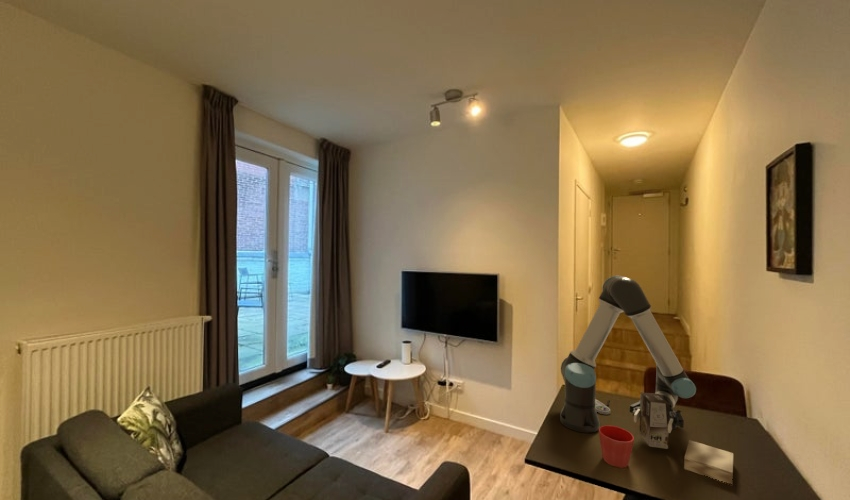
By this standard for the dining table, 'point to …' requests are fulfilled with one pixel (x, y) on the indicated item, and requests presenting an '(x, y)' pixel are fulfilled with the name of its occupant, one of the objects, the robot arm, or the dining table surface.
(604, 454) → the flower pot
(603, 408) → the game controller
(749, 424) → the dining table surface
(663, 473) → the dining table surface
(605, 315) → the robot arm
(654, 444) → the coffee box
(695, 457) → the stand
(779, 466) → the dining table surface
